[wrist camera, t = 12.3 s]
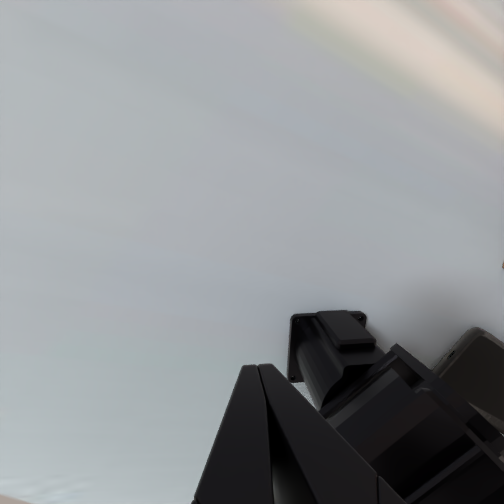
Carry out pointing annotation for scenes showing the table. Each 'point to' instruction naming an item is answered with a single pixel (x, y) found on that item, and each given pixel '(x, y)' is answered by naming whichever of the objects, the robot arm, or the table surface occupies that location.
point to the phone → (477, 373)
